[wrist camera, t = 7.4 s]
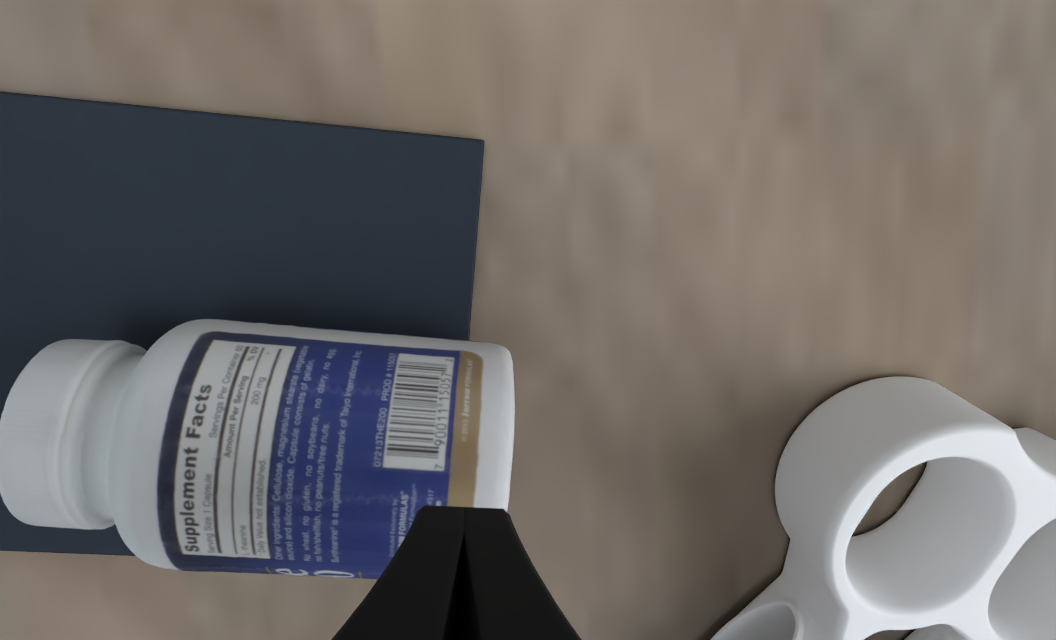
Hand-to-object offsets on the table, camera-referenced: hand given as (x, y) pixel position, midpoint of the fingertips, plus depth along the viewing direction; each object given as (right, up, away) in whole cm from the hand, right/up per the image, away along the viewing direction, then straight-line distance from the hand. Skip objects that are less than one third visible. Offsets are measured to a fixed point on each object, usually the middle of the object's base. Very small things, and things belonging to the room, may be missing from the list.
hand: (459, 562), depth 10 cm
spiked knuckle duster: (+15, -5, +12) cm, 19 cm away
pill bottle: (+1, +1, +5) cm, 5 cm away
